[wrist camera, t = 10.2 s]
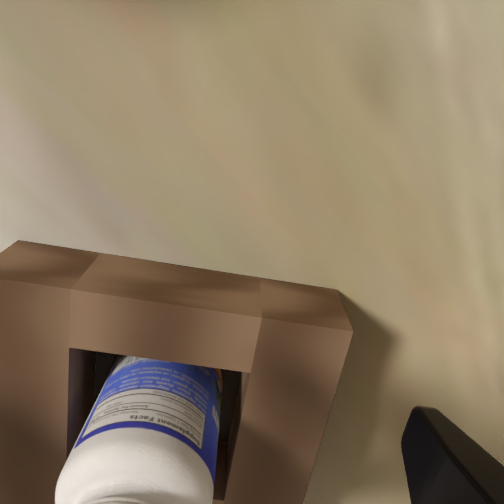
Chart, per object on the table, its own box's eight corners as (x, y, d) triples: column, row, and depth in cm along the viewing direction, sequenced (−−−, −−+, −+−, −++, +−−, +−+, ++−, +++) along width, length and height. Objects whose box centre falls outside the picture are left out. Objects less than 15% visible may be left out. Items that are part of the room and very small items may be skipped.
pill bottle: (198, 433, 23) (165, 664, 14) (97, 398, 22) (-6, 620, 13) (242, 353, 21) (237, 559, 12) (134, 310, 20) (44, 499, 11)
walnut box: (336, 289, 20) (353, 331, 17) (284, 484, 24) (289, 547, 21) (18, 240, 19) (-30, 274, 16) (22, 451, 24) (-14, 512, 20)
